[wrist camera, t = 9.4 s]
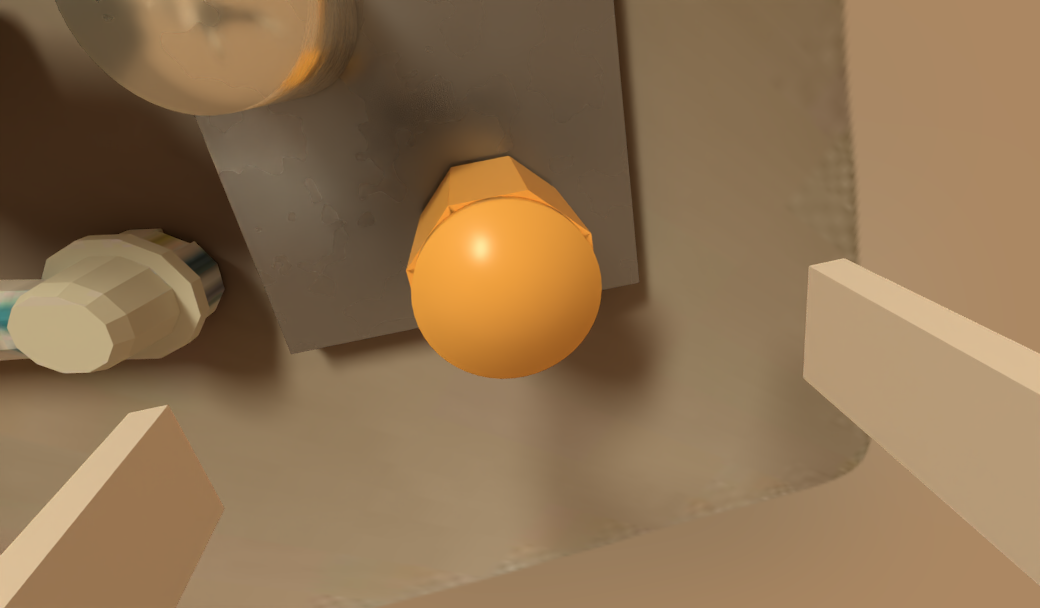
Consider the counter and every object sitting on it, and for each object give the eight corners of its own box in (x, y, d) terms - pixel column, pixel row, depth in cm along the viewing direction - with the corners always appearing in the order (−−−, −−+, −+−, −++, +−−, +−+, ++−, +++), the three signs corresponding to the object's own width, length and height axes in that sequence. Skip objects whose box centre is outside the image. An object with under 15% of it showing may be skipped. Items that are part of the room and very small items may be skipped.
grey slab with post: (302, 333, 26) (229, 460, 18) (152, -54, 20) (-75, -141, 11) (626, 267, 27) (704, 360, 18) (586, -135, 20) (679, -277, 12)
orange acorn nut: (442, 303, 24) (436, 394, 17) (409, 175, 21) (387, 223, 15) (569, 277, 24) (611, 358, 17) (549, 147, 22) (589, 183, 15)
